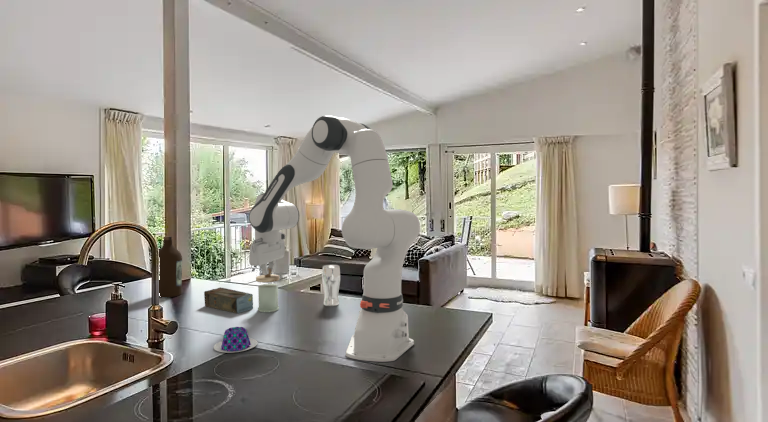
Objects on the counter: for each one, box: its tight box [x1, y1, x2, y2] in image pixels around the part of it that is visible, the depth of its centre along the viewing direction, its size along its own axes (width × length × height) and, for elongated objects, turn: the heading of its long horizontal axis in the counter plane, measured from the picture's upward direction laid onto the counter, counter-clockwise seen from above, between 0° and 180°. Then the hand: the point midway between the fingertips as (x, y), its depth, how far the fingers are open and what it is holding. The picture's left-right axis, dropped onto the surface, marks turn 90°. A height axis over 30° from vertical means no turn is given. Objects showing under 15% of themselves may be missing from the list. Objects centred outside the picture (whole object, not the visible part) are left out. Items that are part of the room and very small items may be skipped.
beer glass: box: [321, 264, 341, 307], centre depth 173 cm, size 7×7×15 cm
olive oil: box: [158, 235, 183, 298], centre depth 188 cm, size 11×11×25 cm
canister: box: [257, 283, 280, 313], centre depth 165 cm, size 8×8×9 cm
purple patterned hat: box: [213, 326, 258, 354], centre depth 127 cm, size 12×12×5 cm
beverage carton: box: [203, 287, 254, 314], centre depth 169 cm, size 8×19×7 cm, turn 58°
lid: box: [255, 267, 280, 283], centre depth 165 cm, size 8×8×4 cm
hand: (267, 273), depth 165 cm, fingers closed on lid, 2 cm apart
